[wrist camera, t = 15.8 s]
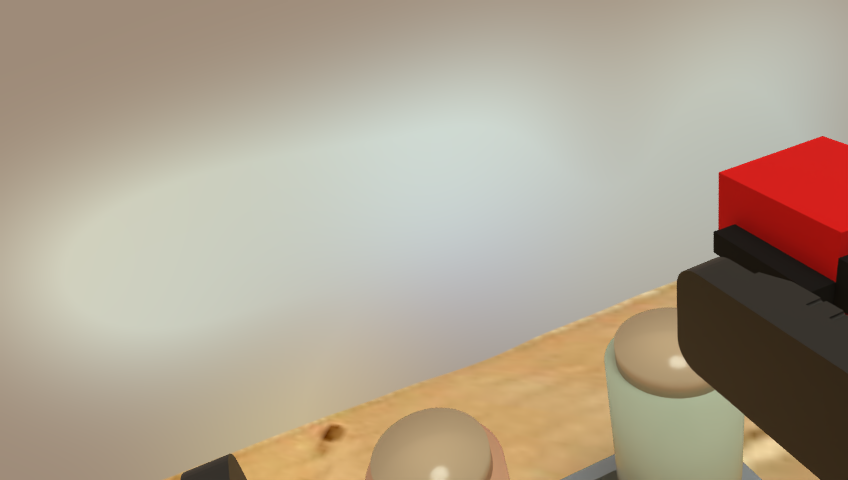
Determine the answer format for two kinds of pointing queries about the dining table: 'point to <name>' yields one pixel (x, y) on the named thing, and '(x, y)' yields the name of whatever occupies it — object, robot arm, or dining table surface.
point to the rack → (604, 474)
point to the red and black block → (790, 217)
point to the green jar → (667, 408)
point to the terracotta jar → (437, 449)
